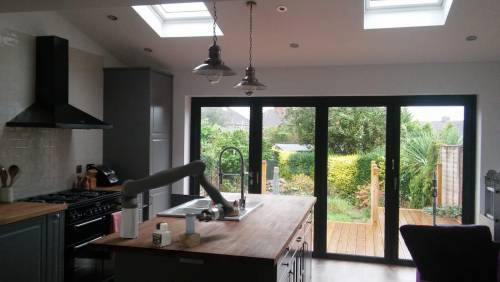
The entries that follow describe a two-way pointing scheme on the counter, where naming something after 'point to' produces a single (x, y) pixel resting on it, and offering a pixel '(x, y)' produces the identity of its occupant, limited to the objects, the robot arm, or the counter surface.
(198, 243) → the walnut block
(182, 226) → the counter surface
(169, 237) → the medicine bottle
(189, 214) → the spice jar
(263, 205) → the counter surface
